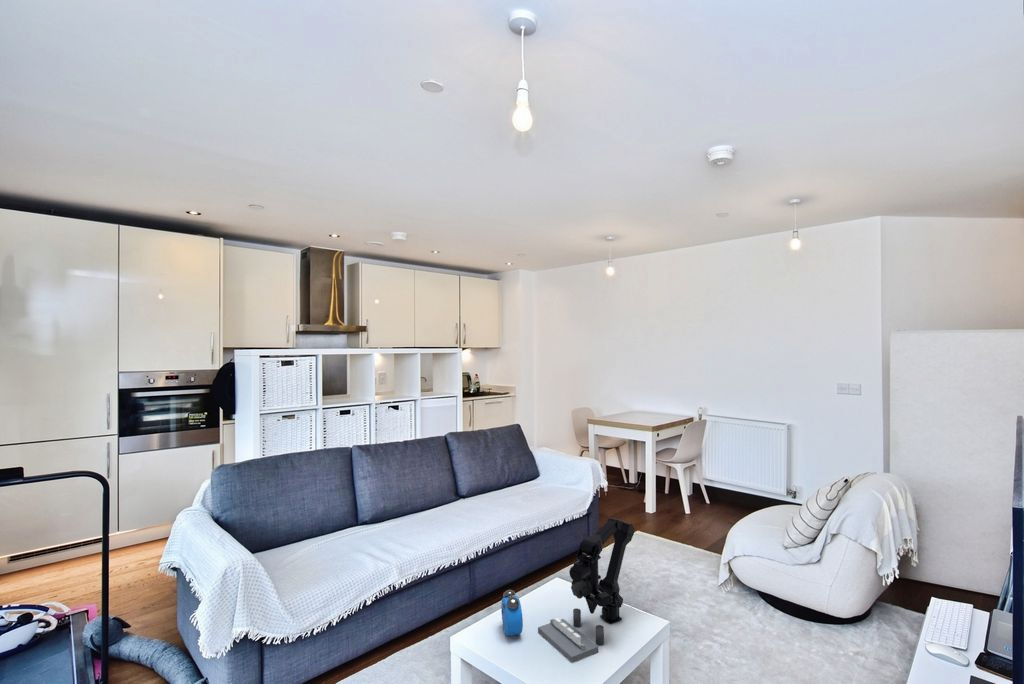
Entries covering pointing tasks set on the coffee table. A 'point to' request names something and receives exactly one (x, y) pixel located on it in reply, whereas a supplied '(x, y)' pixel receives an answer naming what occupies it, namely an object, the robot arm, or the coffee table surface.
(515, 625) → the alarm clock
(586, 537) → the robot arm
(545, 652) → the coffee table surface
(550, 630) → the breaker panel
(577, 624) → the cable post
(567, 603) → the coffee table surface
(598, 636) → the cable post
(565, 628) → the breaker paddles
